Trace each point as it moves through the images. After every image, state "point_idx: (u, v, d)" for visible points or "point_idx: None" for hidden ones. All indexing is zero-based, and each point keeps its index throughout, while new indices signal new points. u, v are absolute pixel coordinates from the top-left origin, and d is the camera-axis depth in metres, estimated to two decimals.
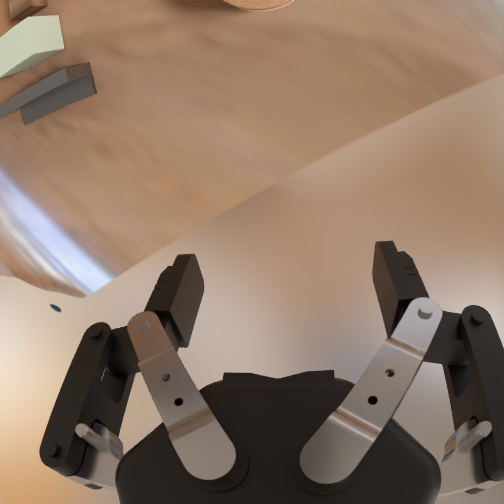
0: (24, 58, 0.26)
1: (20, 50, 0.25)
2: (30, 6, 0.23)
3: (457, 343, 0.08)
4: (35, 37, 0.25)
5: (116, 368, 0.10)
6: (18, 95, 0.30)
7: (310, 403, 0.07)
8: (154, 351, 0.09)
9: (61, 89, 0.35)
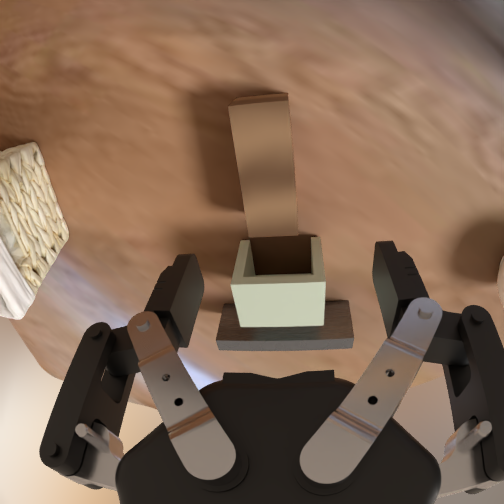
0: (304, 324, 0.31)
1: (298, 314, 0.30)
2: None
3: (457, 343, 0.08)
4: None
5: (116, 368, 0.10)
6: (268, 342, 0.35)
7: (310, 403, 0.07)
8: (154, 351, 0.09)
9: None
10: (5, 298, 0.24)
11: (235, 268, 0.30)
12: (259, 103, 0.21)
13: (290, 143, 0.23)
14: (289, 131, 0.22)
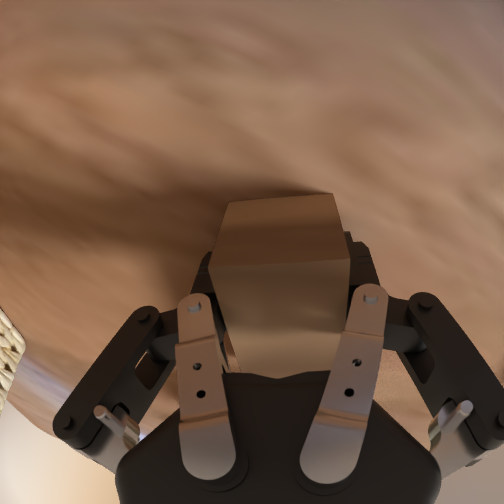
0: None
1: None
2: None
3: (404, 329, 0.09)
4: None
5: (157, 354, 0.11)
6: None
7: (310, 403, 0.07)
8: (196, 336, 0.10)
9: None
10: None
11: None
12: (281, 263, 0.10)
13: (341, 330, 0.11)
14: (343, 312, 0.11)
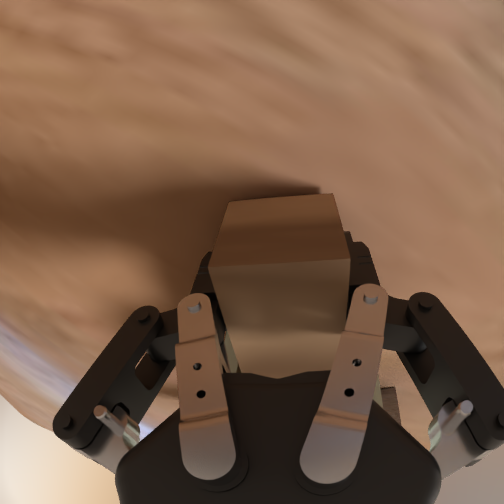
0: None
1: None
2: None
3: (404, 329, 0.09)
4: None
5: (157, 354, 0.11)
6: None
7: (310, 403, 0.07)
8: (196, 336, 0.10)
9: None
10: None
11: None
12: (282, 263, 0.10)
13: (341, 330, 0.11)
14: (343, 312, 0.11)
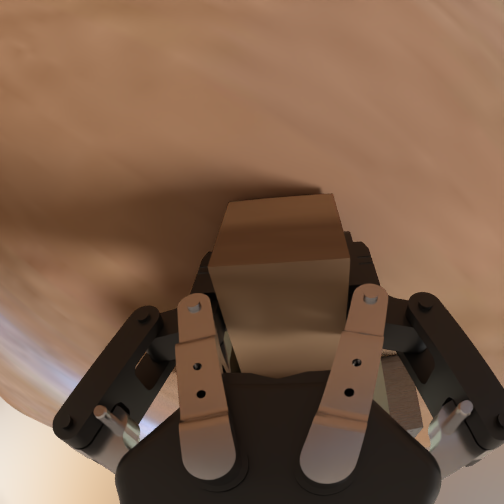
0: None
1: None
2: None
3: (404, 329, 0.09)
4: None
5: (157, 354, 0.11)
6: None
7: (310, 403, 0.07)
8: (196, 336, 0.10)
9: None
10: None
11: None
12: (281, 262, 0.10)
13: (341, 330, 0.11)
14: (343, 312, 0.11)
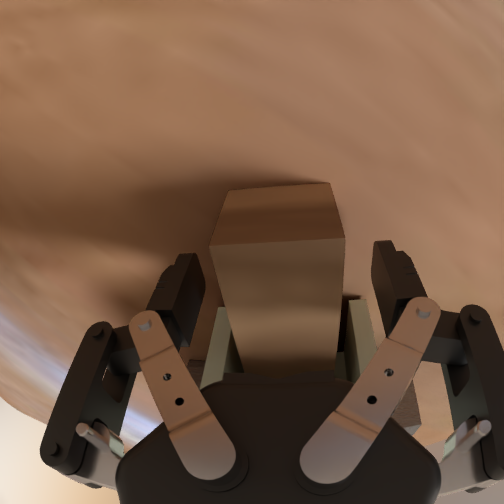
0: None
1: None
2: None
3: (455, 342, 0.08)
4: None
5: (117, 367, 0.10)
6: None
7: (310, 403, 0.07)
8: (155, 350, 0.09)
9: None
10: None
11: (205, 375, 0.14)
12: (279, 242, 0.10)
13: (337, 311, 0.12)
14: (339, 293, 0.11)
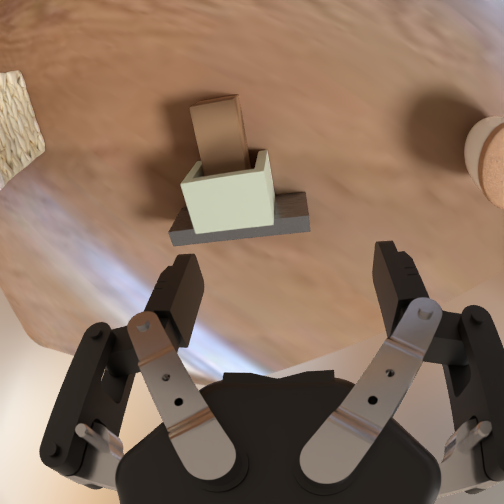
0: (254, 225, 0.33)
1: (246, 212, 0.32)
2: None
3: (457, 343, 0.08)
4: (269, 198, 0.32)
5: (116, 368, 0.10)
6: None
7: (310, 403, 0.07)
8: (154, 351, 0.09)
9: None
10: None
11: (187, 175, 0.32)
12: (212, 103, 0.28)
13: (237, 131, 0.30)
14: (235, 122, 0.29)
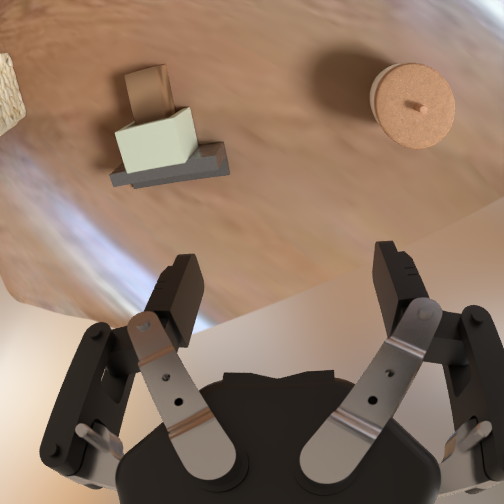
0: (170, 163, 0.38)
1: (163, 153, 0.37)
2: None
3: (457, 343, 0.08)
4: (181, 141, 0.37)
5: (116, 368, 0.10)
6: None
7: (310, 403, 0.07)
8: (154, 351, 0.09)
9: None
10: None
11: (123, 127, 0.37)
12: (140, 70, 0.33)
13: (158, 91, 0.35)
14: (157, 84, 0.34)
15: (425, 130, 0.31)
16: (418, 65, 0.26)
